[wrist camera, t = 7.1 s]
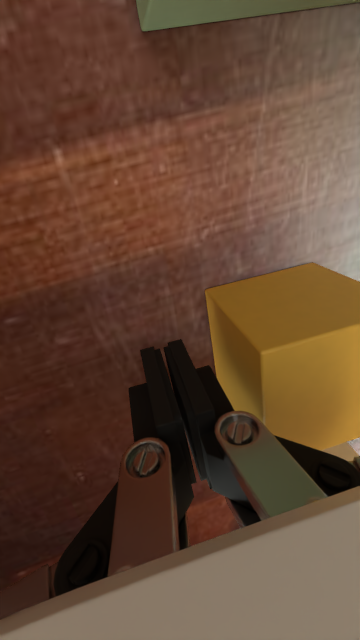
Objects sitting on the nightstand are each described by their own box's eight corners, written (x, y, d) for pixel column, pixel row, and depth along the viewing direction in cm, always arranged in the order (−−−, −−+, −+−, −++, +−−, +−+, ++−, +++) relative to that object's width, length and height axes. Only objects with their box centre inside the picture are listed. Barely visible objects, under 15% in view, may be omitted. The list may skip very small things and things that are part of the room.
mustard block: (307, 354, 15) (391, 427, 11) (216, 381, 14) (265, 471, 10) (312, 261, 13) (422, 306, 8) (203, 288, 12) (260, 352, 8)
